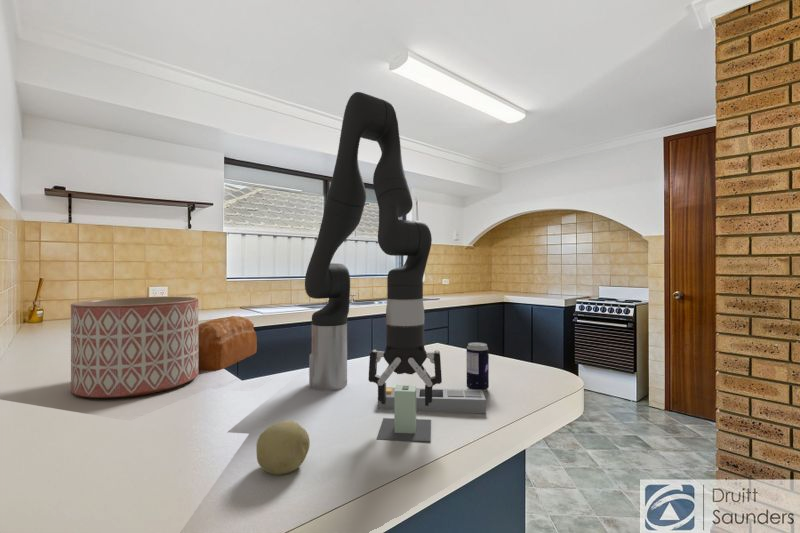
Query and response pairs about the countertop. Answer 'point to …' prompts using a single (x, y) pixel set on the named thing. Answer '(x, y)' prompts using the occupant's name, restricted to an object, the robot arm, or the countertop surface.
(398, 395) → the block
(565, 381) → the countertop surface
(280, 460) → the potato
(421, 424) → the mat
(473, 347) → the beverage can
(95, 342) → the planter
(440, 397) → the strip
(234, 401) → the countertop surface
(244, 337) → the bread
